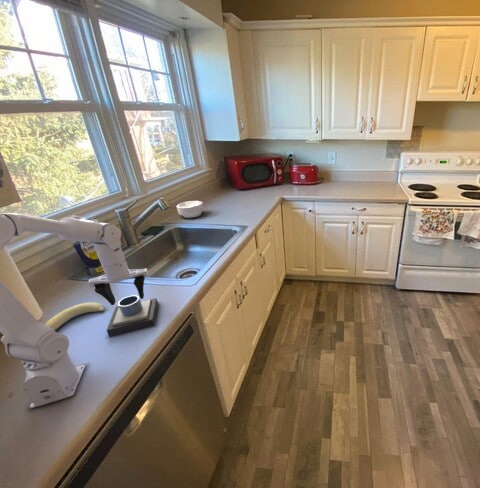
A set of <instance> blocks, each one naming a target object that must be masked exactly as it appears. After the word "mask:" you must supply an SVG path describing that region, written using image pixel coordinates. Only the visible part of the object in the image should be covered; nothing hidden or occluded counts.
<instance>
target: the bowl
mask: <svg viewBox="0 0 480 488" xmlns="http://www.w3.org/2000/svg"><path fill="white" fill-rule="evenodd" d="M141 301H142V300H141V299H140V297H139V295H135V294H134V295H128V296H125V297H123V298H121V299H119V301H118V302H117V307H118V306H119V309H120V311H121V313H122V315H125V316H131V315H134V314H136V313H138V312H139V311H140V310H141V309H142V304H141Z"/></svg>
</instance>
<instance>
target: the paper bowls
mask: <svg viewBox="0 0 480 488" xmlns="http://www.w3.org/2000/svg"><path fill="white" fill-rule="evenodd" d="M204 206H205V205H204V202H203V201H201V200H188V201H183V202H181V203H180V202H179V203H178V204H177V205H176V210H177V213H178V214H179V215H181V216H182V217H183V218H186V219H193V218H198V217H200V216H201V215H202V212H204V210H205V207H204Z"/></svg>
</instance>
